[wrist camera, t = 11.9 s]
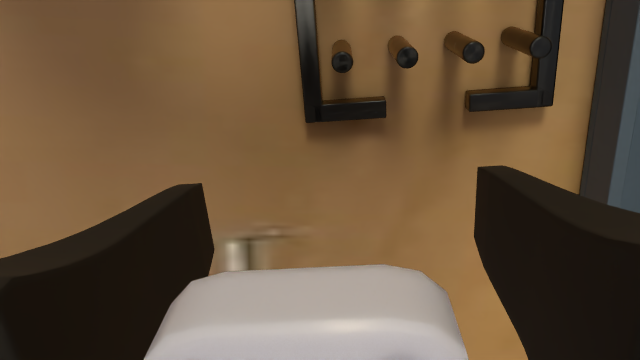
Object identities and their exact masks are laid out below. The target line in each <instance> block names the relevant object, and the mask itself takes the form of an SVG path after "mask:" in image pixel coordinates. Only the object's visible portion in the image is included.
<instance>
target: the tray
mask: <svg viewBox="0 0 640 360" xmlns="http://www.w3.org/2000/svg"><path fill="white" fill-rule="evenodd" d="M580 195H581V196H583V197H586V198H589V199H592V200H595V201H598V202H601V203H604V204H607V205H611V206H614V207H618V208H622V209H626V210H629V211H633V212H637V213H640V0H606V7H605V14H604V22H603V29H602V36H601V43H600V51H599V58H598V65H597V72H596V80H595V87H594V94H593V101H592V109H591V116H590V123H589V130H588V138H587V145H586V152H585V159H584V167H583V174H582V181H581V188H580Z"/></svg>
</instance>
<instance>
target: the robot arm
mask: <svg viewBox="0 0 640 360" xmlns="http://www.w3.org/2000/svg"><path fill="white" fill-rule="evenodd" d="M474 238H475V242H476V245H477V248H478V251H479V255H480V258H481V261H482V263H483V266H484V269H485V271H486V273H487V275H488V277H489V279H490V281H491V283H492V285H493V287H494V289H495V291H496V293H497V295H498V296H499V298H500V300H501V302H502V304H503V306H504V308H505V310H506V312H507V314H508V316H509V318H510V320H511V322H512V324H513V326H514V328H515V329H516V331H517V333H518V336H519V338H520V340H521V342H522V345H523V347H524V349H525V352H526V354H527V357H528V360H640V213H637V212H633V211H629V210H626V209H622V208H618V207H614V206H611V205H607V204H604V203H601V202H598V201H595V200H592V199H589V198H586V197H583V196H581V195H578V194H575V193H572V192H570V191H567V190H565V189H562V188H560V187H557V186H555V185H552V184H550V183H547V182H545V181H543V180H540V179H538V178H536V177H533V176H531V175H528V174H526V173H524V172H521V171H519V170H516V169H513V168H510V167H507V166H486V167H478V171H477V189H476V208H475V227H474ZM213 254H214V245H213V239H212V234H211V229H210V224H209V219H208V214H207V208H206V203H205V198H204V193H203V188H202V183H198V184H181V185H176V186H173V187H171V188H168V189H166V190H164V191H162V192H160V193H158V194H156V195H154V196H152V197H150V198H148V199H147V200H145V201H143V202H141V203H139V204H137V205H135V206H133V207H132V208H130V209H128V210H126V211H124V212H122V213H120V214H118V215H116V216H114V217H112V218H110V219H108V220H106V221H104V222H102V223H100V224H97V225H95V226H93V227H91V228H89V229H87V230H84V231H82V232H79V233H77V234H74V235H72V236H69V237H67V238H64V239H62V240H59V241H56V242H53V243H51V244H48V245H44V246H41V247H38V248H35V249H31V250H28V251H25V252H22V253H19V254H15V255H12V256H8V257H5V258H1V259H0V360H469V359H468V356H467V352H466V349H465V346H464V343H463V340H462V337H461V334H460V331H459V328H458V325H457V322H456V318H455V315H454V312H453V309H452V306H451V303H450V300H449V297H448V294H447V292H446V291H445V290H444V289H443V288H441V287H440V286H439V285H438V284H436V283H435V282H434V281H432V280H431V279H430V278H429V277H427V276H426V275H425V274H424V273H422V272H421V271H418V270H413V269H407V268H401V267H396V266H390V265H384V264H378V265H357V266H335V267H314V268H293V269H271V270H250V271H229V272H222V273H219V274H215V275H212V276H208V274H209V271H210V267H211V263H212V258H213Z"/></svg>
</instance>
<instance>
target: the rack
mask: <svg viewBox="0 0 640 360" xmlns="http://www.w3.org/2000/svg"><path fill="white" fill-rule="evenodd" d="M294 3H295V13H296V24H297V35H298V45H299V56H300V67H301V78H302V88H303V99H304V110H305V120H306V123H314V122H329V121H344V120H359V119H374V118H386V100H385V97H384V96H381V97H366V98H352V99H338V100H324V101H323V99H322V87H321V74H320V61H319V48H318V36H317V23H316V10H315V0H294ZM563 4H564V0H538V3H537V15H536V26H535V33H532V32H529V31H526V30H522V29H519V28H516V27H508V28H506V29H505V30H504V31H503V33H502V35H501V41H502V43H503V44H504V45H506V46H508V47H511V48H513V49H515V50H518V51H520V52H522V53H524V54H527V55H529V56H531V57H533V61H532V72H531V84H530V86H525V87H511V88H496V89H482V90H468V91H466V100H465V107H466V109H467V110H468V111H469V112H475V111H490V110H505V109H520V108H535V107H548V106H552V105H553V98H554V89H555V79H556V70H557V60H558V51H559V42H560V32H561V23H562V13H563ZM444 44H445V47H446V48H447V49H448V50H450V51H451V52H453V53H454V54H456V55H457V56H459V57H460V58H462V59H463V60H464V61H466V62H467V63H471V64H473V63H477V62H479V61H480V60H481V59H482V58H483V56H484V47H483V45H482V44H481V43H480V42H478V41H476V40H474V39H471V38H469V37H467V36H465V35H463V34H461V33H459V32H457V31H452V32H450V33H448V34H447V35H446V37H445V39H444ZM388 49H389V51H390V52H391V54H392V55H393V57H394V58H395V60H396V61H397V63H398V64H399V66H401V67H402V68H411V67H413V66H414V65H415V64H416V63H417V61H418V53H417V51H416V50H415V49H414V48H413V47H412V46H411V45H410V44H409V43H408V42H407V41H406V40H405V39H404V38H403V37H402V36H394V37H392V38H391V39H390V40H389V42H388ZM352 66H353V58H352V52H351V47H350V44H349V43H348V42H347V41H345V40H339V41H337V42H335V44H334V45H333V48H332V67H333V69H334V70H335V71H337V72H339V73H346V72H348V71H349V70H350V69H351V68H352Z"/></svg>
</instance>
